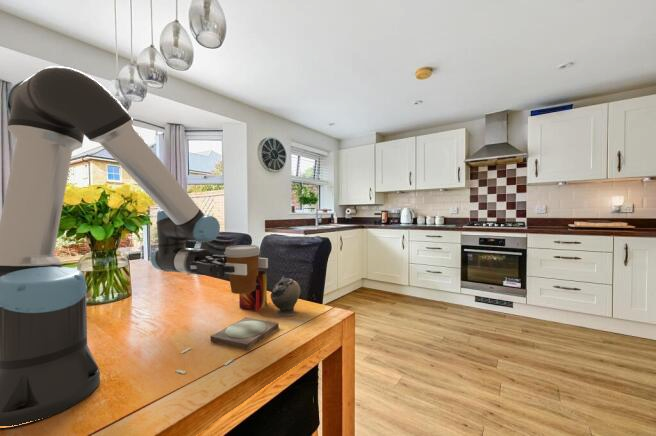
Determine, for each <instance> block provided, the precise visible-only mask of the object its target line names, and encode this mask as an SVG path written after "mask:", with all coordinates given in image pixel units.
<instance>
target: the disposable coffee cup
mask: <svg viewBox="0 0 656 436" xmlns="http://www.w3.org/2000/svg"><path fill="white" fill-rule="evenodd" d="M260 253H261V250H260V246H259V245H257V244H256V245H255V244H241V245H231V246H227V247H225V250H224V252H223V254H224V255H225V256H226V260H227V263H237V264H247V275H235V274H228V279H229V284H230V291H231V293H232V294H237V295H239V294H244V293H250V292H253V291H254V290H255V287H256V277H257V270H258V268H257V267H258V258H260V257H259V256H260Z"/></svg>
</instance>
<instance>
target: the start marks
mask: <svg viewBox="0 0 656 436" xmlns="http://www.w3.org/2000/svg"><path fill="white" fill-rule="evenodd" d="M191 349H192V348H191V347H188V348H186V349H185V350H182V351H181V352H180V354H181V355H182V354H184V353H186V352H189V351H190V350H191ZM233 361H235V360H234V359H233V358H231V359H230V360H228V361H227V362H225V363H223V366H226V367H227V365H229V364H231V363H232V362H233ZM175 372H176V373H179V374H181V375H185V374H186V373H187V372H186V371H184V370H181V369H176V370H175Z"/></svg>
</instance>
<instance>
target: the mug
mask: <svg viewBox="0 0 656 436" xmlns="http://www.w3.org/2000/svg"><path fill="white" fill-rule="evenodd" d="M267 288H268V287H267V271H265V270H258V269H257V277H256V287H255V290H254V291H253V292H250V293H244V294H238V295H239V296H238V297H239V301H238V303H239V309H240V310H243V311H256V312H260V311H261V309H264V308H265V307H266V306H267V304H268V303H267V302H268V299H267V295H268V294H267Z"/></svg>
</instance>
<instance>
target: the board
mask: <svg viewBox="0 0 656 436" xmlns="http://www.w3.org/2000/svg"><path fill="white" fill-rule="evenodd" d="M279 328H280V327H279V322H274V321H269V320H264V319H259V318H253V317H246V316H245V317H244V318H241V319H240V320H238V321H236V322H234V323H232V324H230V325H228V326H227V327H225V328H223V329H221V330H219V331H217V332H216V333H214V334H212V335H210V343H214V344H218V345H223V346H226V347H231V348H235V349H239V350H244V351H248V350H250V349H251V348H253V347H254V346H255V345H257V344H258V343H260V342H261V341H263V340H264V339H266V338H267V337H268V336H270V335H271V334H273V333H274V332H275V331H277V330H278V329H279Z"/></svg>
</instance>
